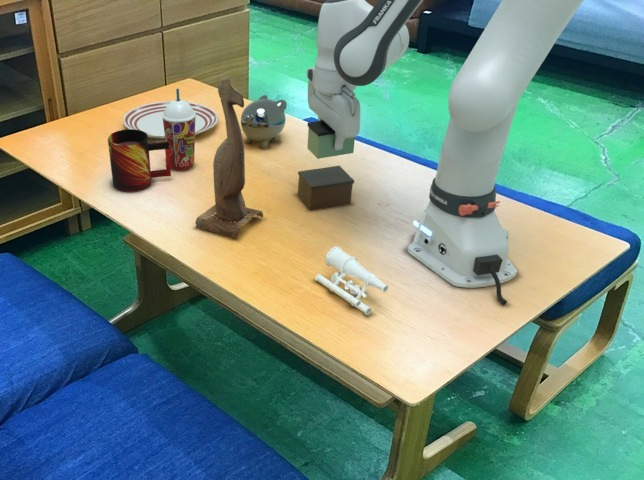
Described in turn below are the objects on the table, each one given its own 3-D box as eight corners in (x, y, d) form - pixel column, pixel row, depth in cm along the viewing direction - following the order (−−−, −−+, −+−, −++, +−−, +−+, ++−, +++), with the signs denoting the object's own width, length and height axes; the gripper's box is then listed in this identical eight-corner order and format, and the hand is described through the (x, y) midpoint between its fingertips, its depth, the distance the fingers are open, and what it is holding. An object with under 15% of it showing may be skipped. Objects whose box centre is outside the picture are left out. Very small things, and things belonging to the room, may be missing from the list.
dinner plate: (184, 103, 211) (183, 92, 209) (237, 130, 193) (237, 118, 191) (106, 125, 199) (105, 113, 197) (156, 155, 181) (155, 144, 179)
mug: (172, 179, 170) (170, 133, 162) (125, 196, 164) (120, 149, 157) (152, 166, 176) (148, 121, 169) (106, 182, 170) (100, 136, 163)
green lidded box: (354, 153, 150) (357, 126, 146) (316, 159, 148) (318, 132, 145) (342, 142, 155) (345, 116, 151) (306, 148, 153) (307, 122, 149)
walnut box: (351, 204, 157) (354, 180, 153) (309, 211, 155) (311, 187, 152) (337, 188, 163) (339, 165, 160) (296, 194, 162) (298, 171, 158)
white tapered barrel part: (372, 319, 126) (360, 311, 122) (322, 285, 135) (309, 276, 131) (398, 284, 125) (386, 274, 121) (345, 252, 134) (333, 242, 130)
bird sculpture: (240, 241, 146) (242, 93, 126) (194, 228, 151) (188, 83, 131) (264, 218, 153) (269, 75, 133) (219, 207, 158) (217, 66, 138)
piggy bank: (296, 138, 187) (298, 97, 180) (261, 156, 179) (262, 113, 172) (264, 128, 193) (266, 88, 186) (229, 145, 185) (229, 103, 178)
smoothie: (193, 174, 172) (190, 95, 159) (162, 172, 174) (156, 94, 161) (200, 160, 178) (197, 83, 166) (169, 158, 180) (164, 82, 167)
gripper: (371, 92, 134) (364, 158, 143) (330, 63, 150) (326, 124, 158) (341, 97, 133) (336, 163, 142) (303, 67, 149) (300, 128, 157)
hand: (330, 142), depth 150 cm, fingers closed on green lidded box, 6 cm apart
